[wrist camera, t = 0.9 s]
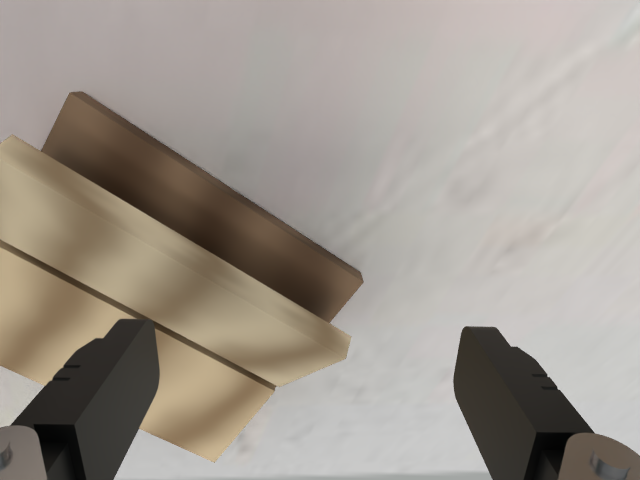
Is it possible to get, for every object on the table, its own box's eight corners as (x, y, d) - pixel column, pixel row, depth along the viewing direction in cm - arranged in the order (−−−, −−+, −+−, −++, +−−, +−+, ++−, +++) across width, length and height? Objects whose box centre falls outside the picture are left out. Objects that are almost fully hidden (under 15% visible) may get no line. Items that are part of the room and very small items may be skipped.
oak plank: (14, 220, 27) (-4, 237, 26) (12, 134, 21) (-12, 152, 20) (285, 368, 32) (279, 387, 31) (351, 336, 26) (345, 358, 25)
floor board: (-32, 319, 32) (-64, 344, 29) (81, 91, 26) (55, 94, 23) (222, 439, 37) (216, 469, 34) (360, 272, 32) (366, 292, 29)
